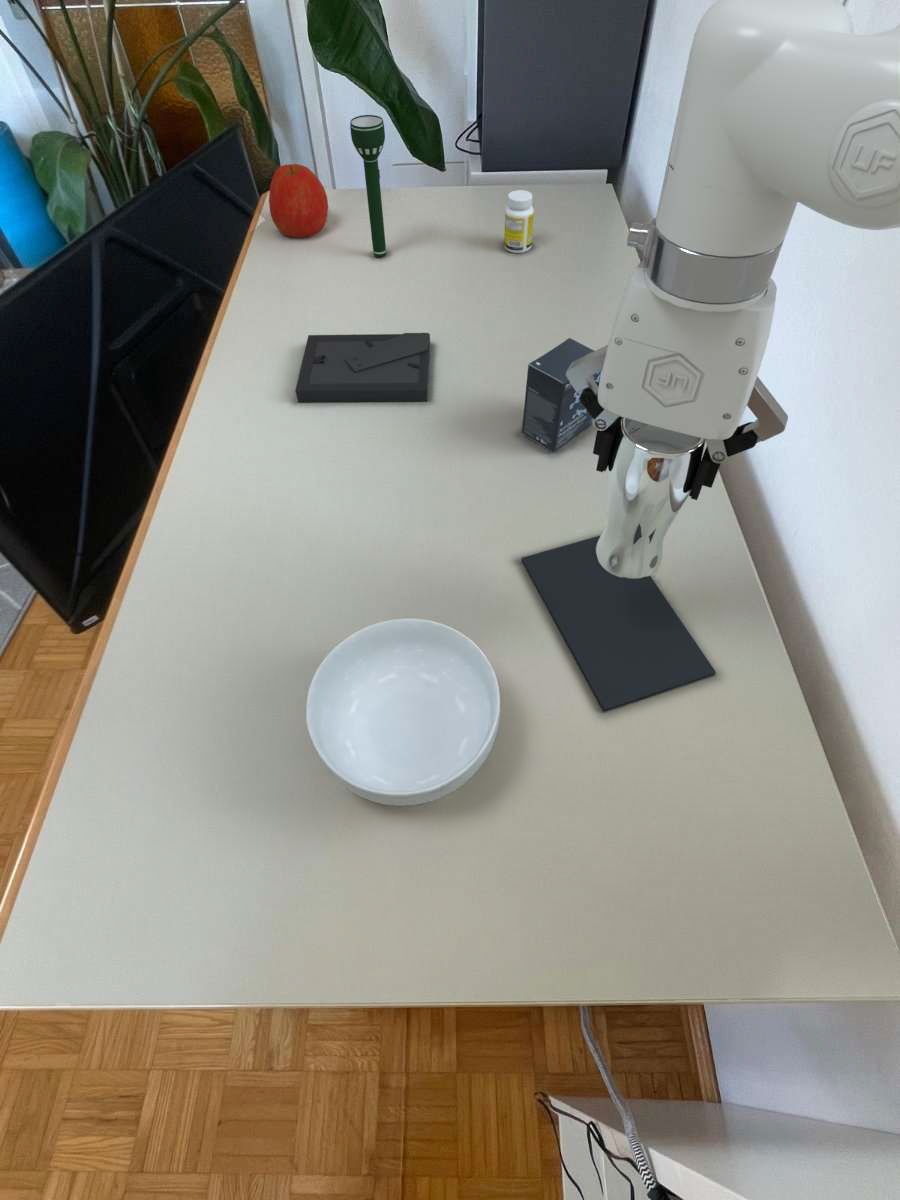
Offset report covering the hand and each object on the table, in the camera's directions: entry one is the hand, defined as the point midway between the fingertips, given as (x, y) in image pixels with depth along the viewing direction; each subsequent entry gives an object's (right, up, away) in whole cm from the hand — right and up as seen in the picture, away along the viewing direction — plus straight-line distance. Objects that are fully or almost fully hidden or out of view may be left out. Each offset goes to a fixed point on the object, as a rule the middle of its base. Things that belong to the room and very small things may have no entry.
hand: (650, 473), depth 57 cm
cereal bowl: (-20, -23, +8) cm, 32 cm away
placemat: (0, -12, +16) cm, 20 cm away
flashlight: (-28, +49, +63) cm, 84 cm away
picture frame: (-28, +22, +42) cm, 55 cm away
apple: (-43, +57, +69) cm, 99 cm away
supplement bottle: (-5, +51, +64) cm, 81 cm away
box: (-3, +12, +34) cm, 36 cm away
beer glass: (0, -6, +8) cm, 10 cm away
